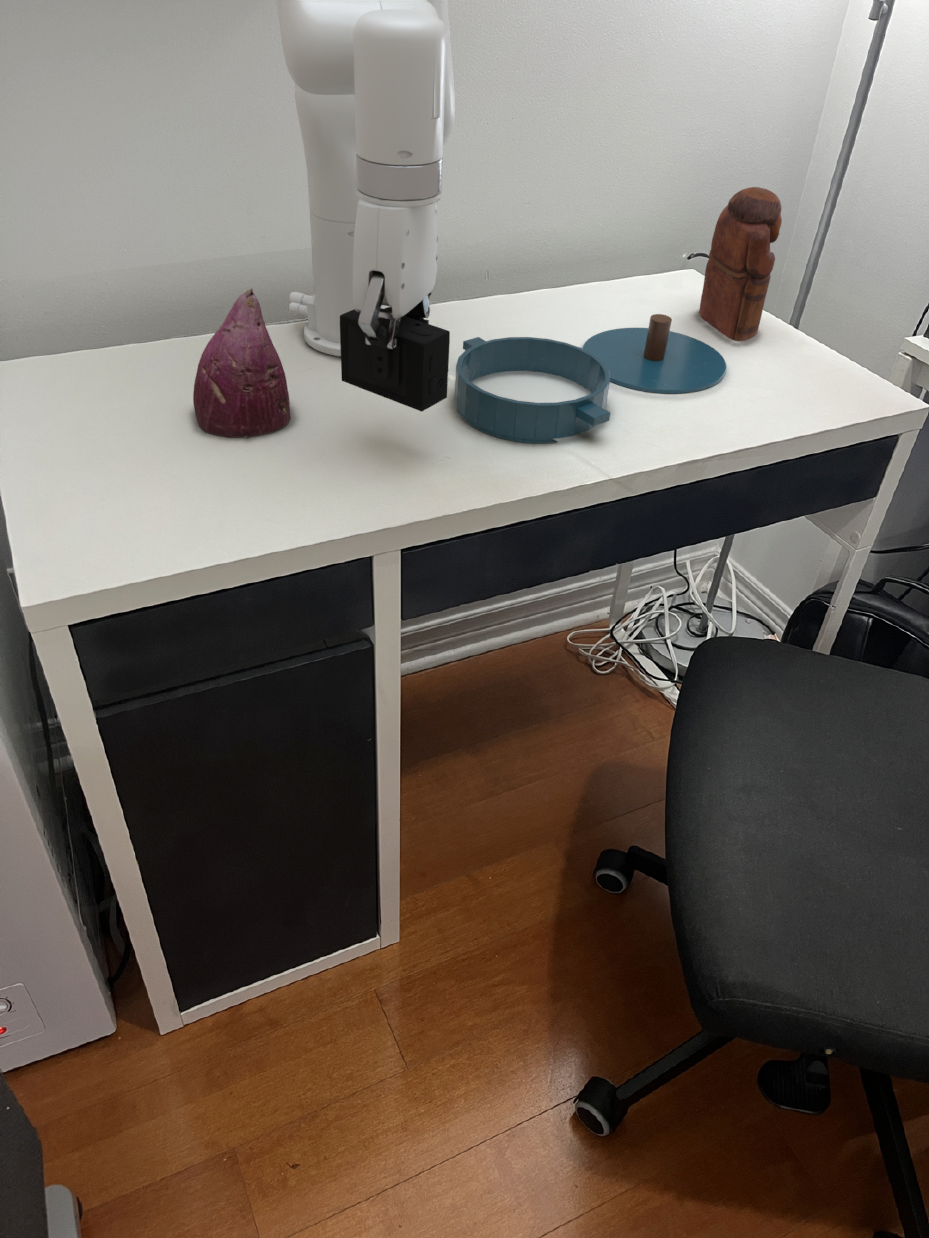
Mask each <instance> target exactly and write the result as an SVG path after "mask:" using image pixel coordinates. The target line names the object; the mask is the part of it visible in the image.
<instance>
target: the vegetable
mask: <svg viewBox="0 0 929 1238" xmlns="http://www.w3.org/2000/svg"><path fill="white" fill-rule="evenodd" d="M260 304H261V303H260V301H259V299H258V298H257V295H256V294H255V293H254V289H253V287H250V288H248V289H246V291H245V292H243V293H242V294H240V295H239V296H238V297H237V298H236V299H235V302H234V303H233V305H232V306H231V309H230V310H229V312H228V314H227V315H226V317H225V319H224V321H222V322H223V323H222V324H221V325H220V327H219V328H218V330H216V331H215V332H214V334H213V335H212V337H211V338H210V339H209V341H208V342H207V344H206V345H205V347H204V349H203V351H202V353H201V355H200V359H199V361H198V364H197V369H196V373H195V380H194V384H193V393H192V394H193V396H192V397H193V398H192V400H193V401H192V403H193V408H194V414H195V417H196V421H197V424H198V427H199V428H200V429H201V430H202V431H204V432H205V433H208V434H211V435H215V436H220V437H226V438H246V439H248V438H250V437H257V436H261V435H263V436H264V435H266V434H271V433H275V432H277V431H279V430H281V429H283V428H285V427H286V426H287V425H289V423H290V421H291V419H292V418H291V415H292V414H291V405H290V396H289V390H288V383H287V377H286V373H285V369H284V365H283V363H282V361H281V358H280V356H279V353H278V351H277V349H276V348H275V345H274V343H273V341H272V338H271V336H270V333H269V331H268V328H267V326H266V322H265V319H264V317H263V313H262V307H261V305H260Z"/></svg>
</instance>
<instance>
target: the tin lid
mask: <svg viewBox="0 0 929 1238" xmlns="http://www.w3.org/2000/svg"><path fill="white" fill-rule="evenodd" d="M672 322H673V321H672V317H671V316H669V315H666V314H662V313H656V314H651V316H649V322H648V327H620V328H614V329H609V330H604V331H601V332H598V333H596V334H594V335H592V336H591V337H589V338H587V340H586V341H584V343H583V344H582V347H581V348H582V349H584V350H586V351H588V352H590V353H592V354H594V355H595V356H597V357H598V358H599V359H600V360H601V361H602V362H604V363H605V365H606V366H607V368H608V370H609V372H610V383H613V384H616V385H618V386H621V387H624V388H628V389H631V390H637V391H641V392H647V393H654V394H689V393H694V392H699V391H703V390H706V389H709V388H712V387H714V386H715V385H717V384H719V383H720V382H721V381H722V380H723V379H724V377H725V375H726V372H727V363H726V362H727V361H726V359H724V357H723V355H722V354H721V353H720V352H719V351H718V350H716V349H715V348H714V347H712V346H711V345H709V344H708V343H706V342H704V341H702V340H700V339H697V338H695V337H692V336H689V335H686V334H683V333H679V332H675V331H671V326H672Z"/></svg>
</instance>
